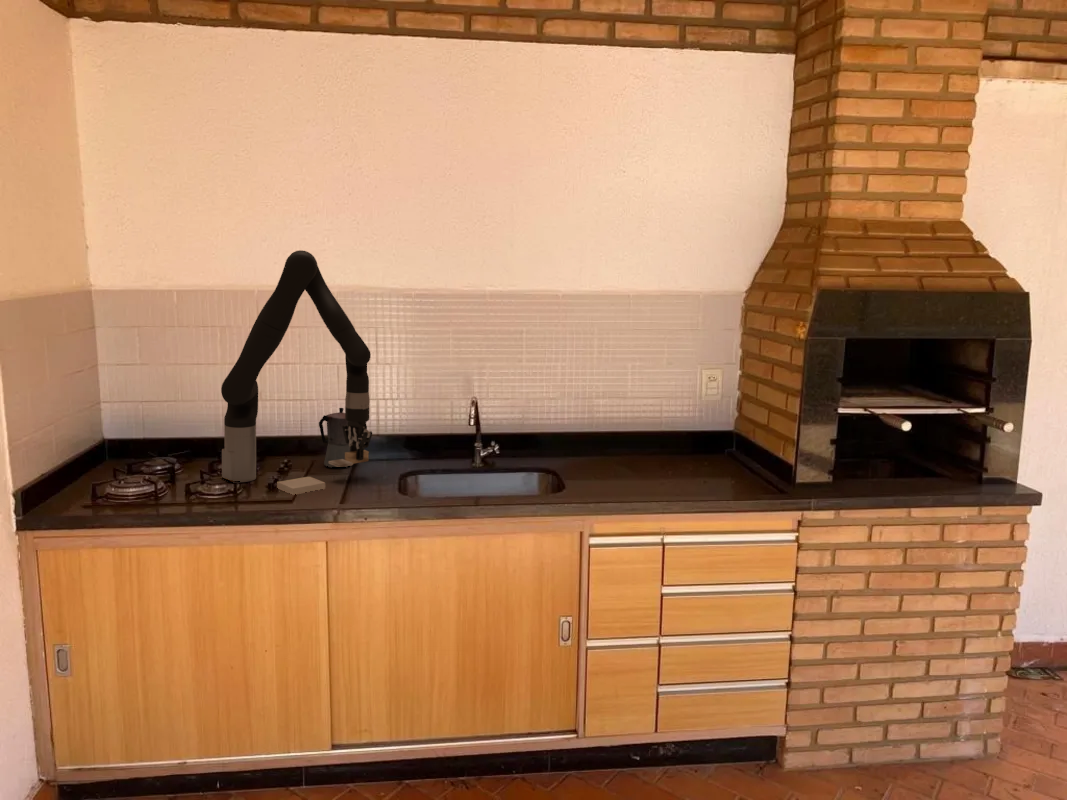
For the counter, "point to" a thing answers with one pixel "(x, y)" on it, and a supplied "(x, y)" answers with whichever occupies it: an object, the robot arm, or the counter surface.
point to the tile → (300, 485)
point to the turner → (349, 459)
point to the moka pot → (334, 436)
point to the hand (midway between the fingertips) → (356, 458)
